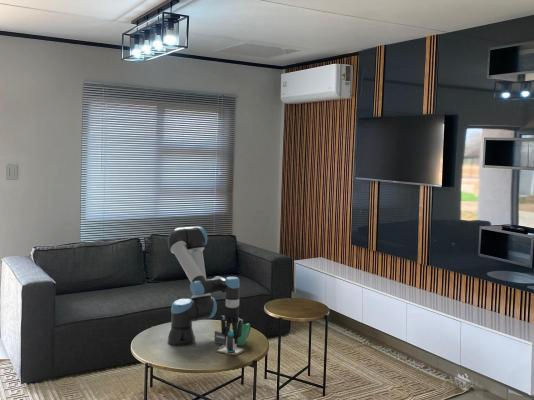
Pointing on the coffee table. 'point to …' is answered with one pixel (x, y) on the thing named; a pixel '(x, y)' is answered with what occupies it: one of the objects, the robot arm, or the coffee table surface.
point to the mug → (243, 333)
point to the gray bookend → (219, 338)
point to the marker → (230, 341)
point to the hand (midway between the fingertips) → (231, 348)
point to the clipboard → (224, 351)
